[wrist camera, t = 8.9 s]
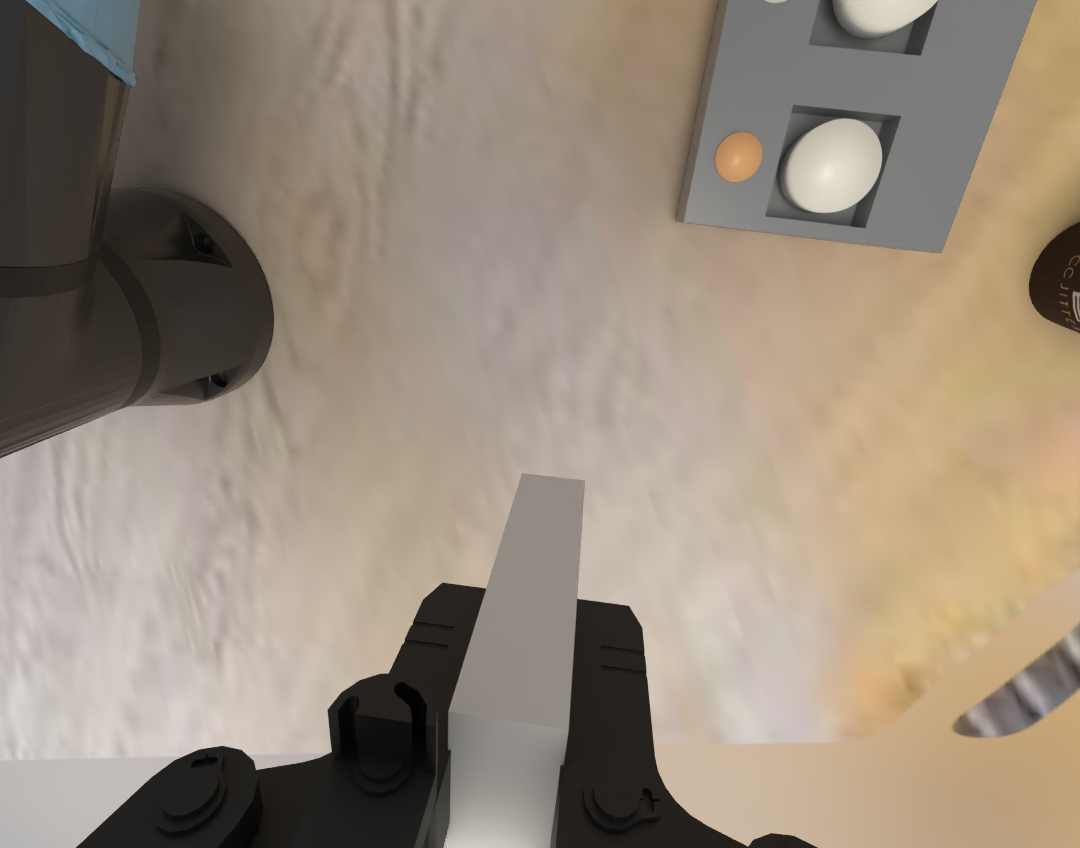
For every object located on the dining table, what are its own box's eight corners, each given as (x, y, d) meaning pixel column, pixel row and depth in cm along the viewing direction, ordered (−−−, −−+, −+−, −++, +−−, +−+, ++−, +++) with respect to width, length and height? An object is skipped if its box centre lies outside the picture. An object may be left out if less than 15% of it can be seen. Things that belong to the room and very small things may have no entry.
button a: (770, 207, 30) (780, 207, 28) (792, 120, 29) (805, 113, 27) (849, 217, 30) (865, 217, 28) (876, 129, 28) (895, 123, 27)
